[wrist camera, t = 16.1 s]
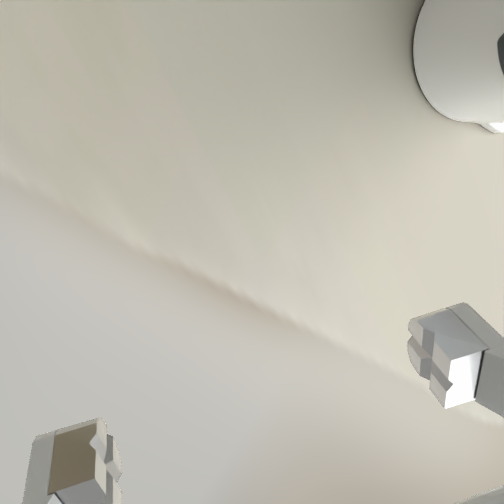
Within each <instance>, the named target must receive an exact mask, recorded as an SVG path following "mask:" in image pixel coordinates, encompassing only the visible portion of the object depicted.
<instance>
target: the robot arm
mask: <svg viewBox="0 0 504 504" xmlns="http://www.w3.org/2000/svg"><path fill="white" fill-rule="evenodd" d="M413 55H414V66H415V71H416V75H417V79H418V82H419V85H420V87H421V89H422V91H423V93H424V95H425V97H426V98H427V100H428V101H429V103H430V104H431V105H432V106H433V107H434V108H435V109H436V110H437V111H438V112H439V113H441V114H442V115H444V116H446V117H448V118H450V119H453V120H456V121H461V122H474V123H478V124H480V125H481V126H483V127H484V128H486V129H487V130H489V131H491V132H493V133H504V0H425V2H424V4H423V6H422V9H421V11H420V14H419V17H418V21H417V25H416V29H415V35H414V46H413ZM408 330H409V331H410V333H411V334H412V337H411V338H410V339H409V341H408V354H409V358H410V361H411V363H412V365H413V367H414V368H415V370H416V371H417V373H418V374H419V375H420V376H422V377H424V378H426V379H428V380H430V387H429V389H430V390H431V391H432V393H433V394H434V395H435V397H436V398H437V399H438V401H439V402H440V403H441V405H442V406H443V407H444V409H446V408H449V407H452V406H455V405H458V404H462V403H465V402H468V401H471V400H474V399H475V401H476V402H478V403H479V404H481V405H483V406H485V407H486V408H488V409H490V410H492V411H493V412H495V413H497V414H499V415H500V416H502V417H504V338H503V337H502V336H501V335H500V334H499V333H498V332H497V331H496V330H495V329H494V328H493V327H492V326H491V325H490V324H489V323H487V322H486V321H485V320H484V319H483V318H482V317H481V316H480V315H479V314H478V313H477V312H476V311H475V310H474V309H473V308H472V307H471V306H469V305H468V304H466V303H464V302H463V303H460V304H457V305H453V306H450V307H447V308H445V309H444V308H443V309H440V310H437V311H434V312H431V313H428V314H425V315H422V316H419V317H416V318H413V319H411V320H410V322H409V327H408ZM121 472H122V471H121V459H120V453H119V449H118V447H117V443H116V441H115V440H114V438H113V436H110V435H108V434H107V425H106V424H105V422H104V421H103V419H102V418H96V419H93V420H89V421H86V422H83V423H79V424H76V425H72V426H69V427H66V428H62V429H58V430H55V431H52V432H49V433H45V434H42V435H39V436H36V438H35V440H34V442H33V444H32V450H31V456H30V461H29V467H28V473H27V479H26V485H25V491H24V497H23V502H22V504H122V491H121V490H120V488H119V486H118V485H117V482H118V480H119V478H120V476H121V474H122V473H121ZM454 504H504V485H502V486H500V487H497V488H494V489H492V490H489V491H486V492H484V493H481V494H478V495H475V496H473V497H471V498H467V499H465V500H462V501H459V502H457V503H454Z"/></svg>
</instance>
